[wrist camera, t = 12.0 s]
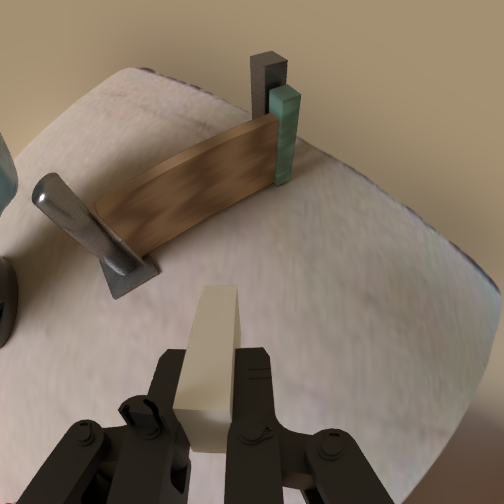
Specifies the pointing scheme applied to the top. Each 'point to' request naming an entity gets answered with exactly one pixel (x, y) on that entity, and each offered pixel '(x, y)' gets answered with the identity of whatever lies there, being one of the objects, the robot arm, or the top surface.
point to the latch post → (265, 79)
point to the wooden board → (205, 177)
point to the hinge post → (92, 235)
